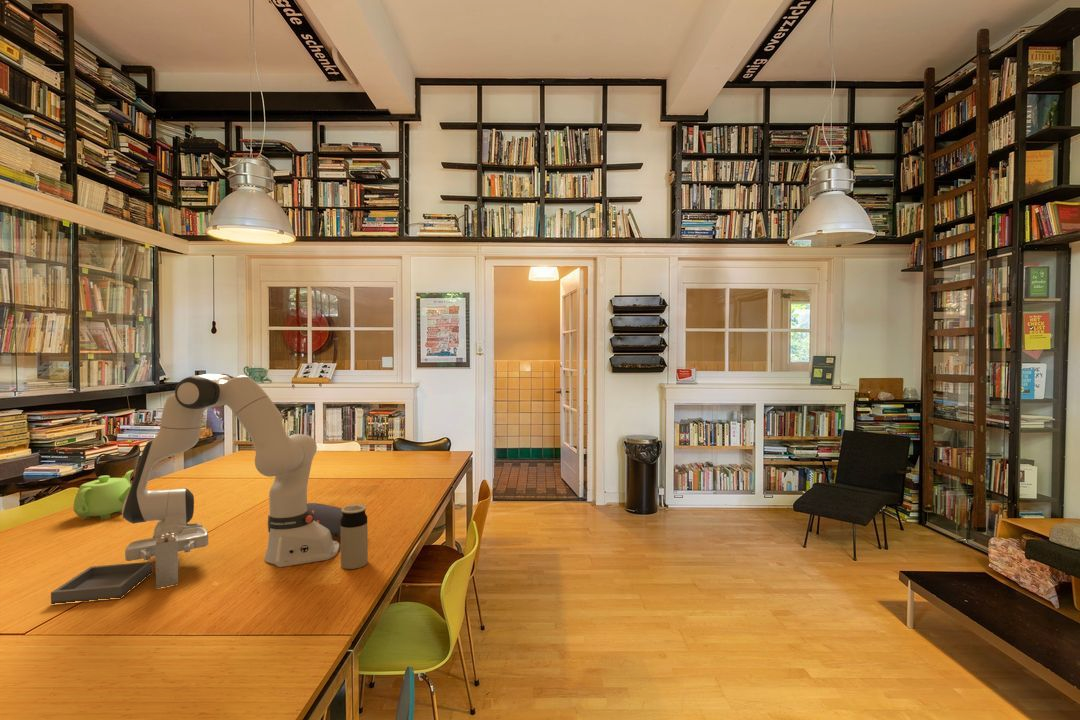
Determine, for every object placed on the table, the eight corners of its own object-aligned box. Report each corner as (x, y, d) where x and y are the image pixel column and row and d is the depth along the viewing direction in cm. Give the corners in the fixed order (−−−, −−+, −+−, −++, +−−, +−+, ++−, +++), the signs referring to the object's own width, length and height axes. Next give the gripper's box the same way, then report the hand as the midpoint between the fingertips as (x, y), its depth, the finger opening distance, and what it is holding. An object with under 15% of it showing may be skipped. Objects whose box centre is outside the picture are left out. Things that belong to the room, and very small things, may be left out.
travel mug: (358, 571, 153) (358, 513, 153) (335, 568, 155) (334, 511, 154) (372, 560, 161) (372, 504, 160) (350, 558, 162) (349, 503, 162)
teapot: (114, 524, 193) (113, 483, 192) (59, 523, 193) (58, 483, 193) (164, 503, 218) (163, 467, 217) (115, 503, 218) (114, 467, 218)
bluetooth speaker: (297, 531, 185) (296, 505, 185) (318, 524, 194) (318, 498, 193) (339, 543, 175) (339, 515, 174) (360, 534, 183) (360, 507, 183)
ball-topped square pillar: (178, 578, 148) (177, 529, 148) (177, 585, 144) (176, 534, 144) (157, 583, 145) (156, 532, 145) (156, 589, 141) (155, 538, 141)
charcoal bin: (152, 572, 152) (152, 561, 152) (121, 599, 136) (120, 586, 136) (90, 578, 148) (90, 566, 148) (51, 605, 132) (50, 592, 132)
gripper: (126, 535, 151) (120, 551, 140) (207, 522, 163) (208, 535, 151) (127, 556, 151) (121, 573, 140) (208, 541, 163) (208, 555, 152)
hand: (167, 553), depth 146 cm, fingers open, 8 cm apart
